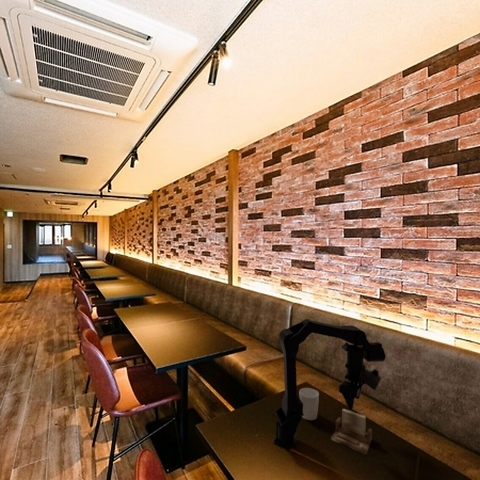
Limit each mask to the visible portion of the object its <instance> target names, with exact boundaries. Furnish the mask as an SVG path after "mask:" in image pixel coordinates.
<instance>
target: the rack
mask: <svg viewBox="0 0 480 480" xmlns="http://www.w3.org/2000/svg"><path fill="white" fill-rule="evenodd" d="M338 432H340V433H342V434H344V435H346V436H349V437H351V438H353V439H355V440H358V441H359V443H362V444H363V450H362V451H359V450H357V449H355V448H352V447H350V446H348V445H345V444H343V443H340V442H338V441H336V440H335V438H336V436H337V434H338ZM330 440H331V441H334V442H336V443H338V444H341V445H342V446H345V447H348V448H350V449H353V450H355V451H356V452H359V453H362V454H365V455H367V454H368V451H369V449H370V448H369V447H370V445H371V442H372V440H373V429H372V428H368V429H367V432H365V437H363V436H361V435H358V434H355V433H353V432H350V431H348V430H345V429H343V428H342V417H341V416H338V418H337V419H336V420H335V431H334V433H333V434H332V436H331V437H330Z"/></svg>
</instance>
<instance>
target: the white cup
mask: <svg viewBox="0 0 480 480" xmlns="http://www.w3.org/2000/svg"><path fill="white" fill-rule="evenodd" d="M298 393H299V395H298V396H299V398H300V400H301V401H302V403H303V414H304V416H302V419H304V420H307V421H314V420H316V419H317V418H318V410H319V399H320V397H319V396H320V393H319V391H318V390H316V389H314V388H310V387H302V388H300V389H299V391H298Z"/></svg>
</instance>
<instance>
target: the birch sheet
mask: <svg viewBox="0 0 480 480" xmlns="http://www.w3.org/2000/svg"><path fill="white" fill-rule="evenodd" d="M366 420H367V418H366V416H365V415H364V414H360V413H357V412H354V411H353V410H349V409H345V408H342V410H341V424H342V428H343V429H345V430H348V431H350V432H353V433H355V434H358V435H361V436H363V437H365V433H366V426H367V425H366V424H367V423H366V422H367V421H366Z"/></svg>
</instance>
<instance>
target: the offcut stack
mask: <svg viewBox="0 0 480 480" xmlns="http://www.w3.org/2000/svg"><path fill="white" fill-rule="evenodd" d="M335 440H336V441H338V442H340V443H343V444H345V445H348V446H350V447H352V448H355V449H357V450H359V451H362V450H363V444H362V443H359V441H358V440H355V439H353V438H351V437H349V436H346V435H344V434H342V433H340V432H338V434H337V436H336V438H335ZM338 442H337V443H338ZM340 443H339V444H340ZM343 444H342V445H343ZM345 445H344V446H345ZM350 447H349V448H350ZM352 448H351V449H352ZM357 450H356V451H357ZM359 451H358V452H359Z"/></svg>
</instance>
